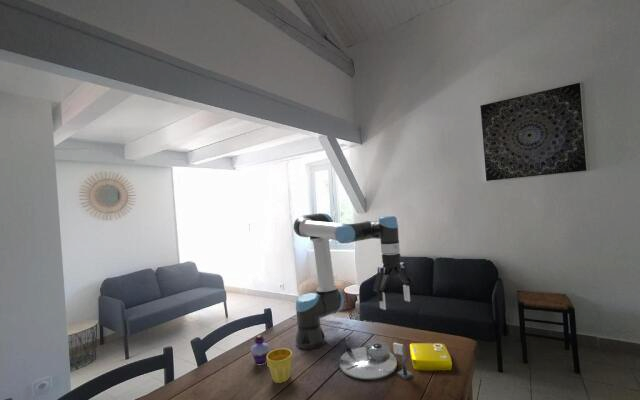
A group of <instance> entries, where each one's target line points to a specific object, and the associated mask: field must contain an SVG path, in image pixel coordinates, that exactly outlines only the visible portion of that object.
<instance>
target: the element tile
mask: <svg viewBox="0 0 640 400" xmlns="http://www.w3.org/2000/svg"><path fill="white" fill-rule="evenodd" d="M409 354H410V358H411V363H412V368H413V370H416V371H434V372H435V370H436V371H437V370H439V371H440V370H443V371H445V370H450V371H452V370H453V362H452V358H451V355H450V353H449V351H448V349H447V347H446V345H445V344H444V343H441V342H440V343H438V342H437V343H436V342H435V343H433V342H429V343H427V342H426V343H425V342H424V343H423V342H422V343H421V342H418V343H417V342H411V343H410V344H409ZM451 369H452V370H451ZM439 371H438V372H439ZM443 371H442V372H443ZM445 372H446V371H445Z"/></svg>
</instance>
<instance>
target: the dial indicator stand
mask: <svg viewBox="0 0 640 400" xmlns="http://www.w3.org/2000/svg"><path fill="white" fill-rule="evenodd" d="M392 347H393V348H392V350H393V355H394V358H395V357H396V354H397V355H400V357H401V359H400V360H401V367H402V369H401V370H400V371H397V376H398V377H400V378H402V379H403V380H405V381H406V380H408V379H409V378H411V377H413V376H414V375H413V372H412V371H409V370H408V369H407V359H406V348H405V346H404V344H403V343H398V342H393V343H392ZM396 358H397V357H396Z"/></svg>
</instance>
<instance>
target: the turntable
mask: <svg viewBox="0 0 640 400" xmlns="http://www.w3.org/2000/svg"><path fill="white" fill-rule="evenodd" d="M344 342H345V343H344V344H345V352H344V353H342V355H341V356H340V358H339V361H338V362H339V368H340V370H341V371H342V372H343V373H344V374H345V375H347V376H349V377H351V378H354V379H358V380H359V379H360V380H366V381H367V380H378V379H382V378H385V377H389V376H390V375H392V374H393V373H394V372H396V369H397V367H398V361H397V357H395V358H394V353H392V352H391V351H390V358H389V359H388V360H386V361H381V362H376V361H371V360H369V359H368V358H367V355H366V346H361V347H356V348H352V346H351V345H352V344H351V337H350V336H345V337H344Z"/></svg>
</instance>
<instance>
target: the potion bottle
mask: <svg viewBox="0 0 640 400" xmlns="http://www.w3.org/2000/svg"><path fill="white" fill-rule="evenodd" d="M254 343H255V344H253V345H252V346H251V348H249V349H250V353H251V356H252V357H253V360H254V364H255V363H256V364H263V363H265V362H266V361H267V358H266V357H267V354H268V353H269V352H270V344H268V342H265V337H263V334H257V335H256V336H255V338H254ZM256 364H255V365H256Z"/></svg>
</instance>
